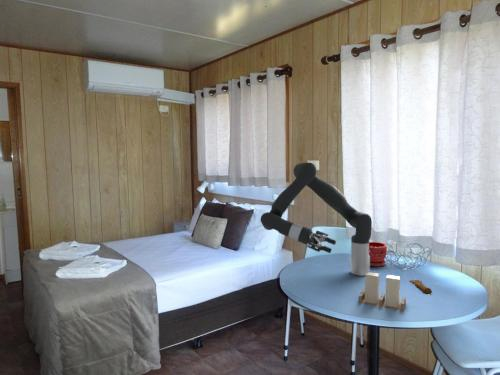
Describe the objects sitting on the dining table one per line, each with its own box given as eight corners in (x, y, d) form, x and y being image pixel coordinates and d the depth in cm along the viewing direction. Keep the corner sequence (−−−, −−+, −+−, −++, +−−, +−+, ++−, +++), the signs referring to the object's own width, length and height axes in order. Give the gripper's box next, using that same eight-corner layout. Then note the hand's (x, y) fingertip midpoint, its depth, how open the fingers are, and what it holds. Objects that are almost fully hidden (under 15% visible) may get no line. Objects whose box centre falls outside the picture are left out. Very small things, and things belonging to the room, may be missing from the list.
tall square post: (386, 302, 152) (387, 274, 151) (399, 304, 150) (400, 276, 149) (385, 305, 149) (386, 277, 148) (398, 308, 146) (399, 279, 145)
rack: (362, 298, 159) (362, 289, 159) (405, 306, 151) (405, 297, 150) (358, 305, 152) (358, 295, 152) (403, 314, 144) (403, 303, 143)
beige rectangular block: (366, 298, 156) (367, 271, 155) (378, 300, 154) (379, 273, 153) (364, 302, 153) (365, 274, 152) (377, 304, 150) (377, 276, 149)
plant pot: (369, 259, 219) (370, 240, 218) (390, 264, 210) (390, 244, 209) (358, 264, 211) (358, 244, 210) (379, 269, 201) (379, 248, 200)
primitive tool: (408, 281, 182) (408, 274, 182) (419, 281, 182) (419, 274, 182) (423, 295, 163) (424, 288, 163) (436, 296, 163) (436, 288, 163)
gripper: (297, 232, 161) (331, 246, 155) (306, 221, 173) (339, 233, 167) (293, 246, 164) (327, 260, 158) (303, 234, 176) (334, 246, 170)
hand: (333, 246), depth 163 cm, fingers open, 8 cm apart
